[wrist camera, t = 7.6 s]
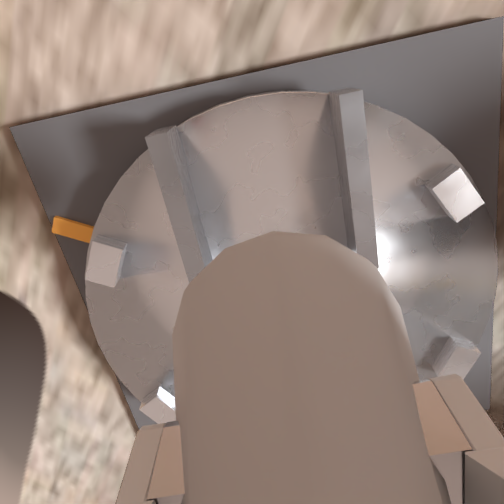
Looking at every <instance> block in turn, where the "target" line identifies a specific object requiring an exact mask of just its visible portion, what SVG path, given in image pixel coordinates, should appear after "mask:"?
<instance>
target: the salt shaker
mask: <svg viewBox="0 0 504 504" xmlns="http://www.w3.org/2000/svg"><path fill="white" fill-rule="evenodd" d="M172 342H173V366H174V390H175V414H176V421H178V422H179V424H180V433H181V447H182V461H183V475H184V489H185V494H184V497H183V500H182V503H181V504H451V500H450V496H449V492H448V489H447V485H446V481H445V480H444V478H443V477H442V475H441V474H440V472H439V471H438V469H437V468H436V466H435V465H434V463H433V462H432V460H431V459H430V457H429V454H428V450H427V446H426V443H425V439H424V434H423V430H422V425H421V421H420V417H419V412H418V407H417V403H416V398H415V394H414V389H413V385H412V384H413V383H414V381H419V377H418V373H417V369H416V365H415V361H414V357H413V353H412V349H411V346H410V342H409V338H408V334H407V330H406V326H405V322H404V319H403V315H402V311H401V307H400V305H399V304H398V302H397V300H396V299H395V297H394V295H393V294H392V292H391V290H390V289H389V287H388V285H387V284H386V282H385V280H384V279H383V277H382V275H381V274H380V272H379V270H378V269H377V267H376V266H375V265H374V264H372V263H371V262H370V261H369V260H368V259H366V258H365V257H363V256H361V255H359V254H358V253H356V252H354V251H352V250H351V249H349V248H347V247H345V246H344V245H342V244H340V243H338V242H337V241H335V240H333V239H332V238H330V237H328V236H326V235H316V234H304V233H291V232H279V231H272V232H269V233H266V234H263V235H261V236H258V237H255V238H252V239H250V240H247V241H244V242H241V243H238V244H236V245H233V246H230V247H227V248H225V249H224V250H223V251H222V252H221V253H220V254H218V255H217V256H216V257H215V258H214V259H213V260H212V261H211V262H210V263H209V264H208V265H207V266H206V267H205V268H204V269H203V270H202V271H201V272H200V273H199V274H198V275H197V276H196V277H195V278H194V279H193V280H192V281H191V282H190V283H189V284H188V286H187V287H186V289H185V290H184V292H183V296H182V300H181V304H180V307H179V311H178V315H177V319H176V322H175V326H174V330H173V333H172Z"/></svg>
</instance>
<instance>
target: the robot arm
mask: <svg viewBox="0 0 504 504" xmlns="http://www.w3.org/2000/svg"><path fill="white" fill-rule="evenodd" d="M412 385H413V389H414V394H415V398H416V403H417V407H418V412H419V417H420V421H421V425H422V430H423V434H424V439H425V443H426V446H427V450H428V454H429V457H430V459H431V460H432V462H433V463H434V465H435V466H436V468H437V469H438V471H439V472H440V474H441V475H442V477H443V478H444V480H445V481H446V485H447V489H448V492H449V496H450V500H451V504H504V437H503V436H502V434H501V433H500V431H499V430H498V428H497V427H496V426H495V424H494V423H493V421H492V420H491V419H490V417H489V416H488V414H487V413H486V411H485V410H484V409H483V407H482V406H481V404H480V403H479V402H478V400H477V399H476V397H475V396H474V395H473V393H472V392H471V390H470V389H469V387H468V386H467V385H466V383H465V382H464V380H463V379H462V378H461V377H460V376H459V375H457V374H451V375H446V376H440V377H435V378H429V379H428V380H427V379H425V380H419V381H414V383H413V384H412ZM184 494H185V489H184V475H183V461H182V447H181V433H180V424H179V422H178V421H171V422H167V423H161V424H153V425H146V426H142V427H141V428H140V429H139V431H138V432H137V434H136V438H135V441H134V444H133V447H132V451H131V454H130V457H129V460H128V464H127V467H126V470H125V474H124V477H123V480H122V483H121V487H120V490H119V493H118V497H117V500H116V503H115V504H181V503H182V500H183V497H184Z"/></svg>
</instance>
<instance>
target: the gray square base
mask: <svg viewBox="0 0 504 504" xmlns="http://www.w3.org/2000/svg"><path fill="white" fill-rule="evenodd" d="M503 23H504V16H503V17H498V18H492V19H488V20H484V21H479V22H475V23H470V24H466V25H461V26H457V27H452V28H448V29H443V30H439V31H435V32H430V33H426V34H421V35H417V36H412V37H408V38H403V39H399V40H395V41H390V42H386V43H381V44H377V45H372V46H368V47H363V48H359V49H355V50H350V51H346V52H341V53H337V54H332V55H328V56H323V57H319V58H315V59H310V60H306V61H301V62H297V63H292V64H288V65H283V66H279V67H275V68H270V69H266V70H261V71H257V72H252V73H248V74H243V75H239V76H235V77H230V78H226V79H221V80H217V81H212V82H208V83H203V84H199V85H195V86H190V87H186V88H181V89H177V90H172V91H168V92H163V93H159V94H155V95H150V96H146V97H141V98H137V99H132V100H128V101H123V102H119V103H114V104H110V105H106V106H101V107H97V108H92V109H88V110H83V111H79V112H74V113H70V114H66V115H61V116H57V117H52V118H48V119H43V120H39V121H34V122H30V123H26V124H21V125H17V126H13V127H9V128H10V130H11V133H12V135H13V137H14V140H15V142H16V144H17V147H18V149H19V151H20V154H21V156H22V158H23V161H24V163H25V165H26V168H27V170H28V172H29V175H30V177H31V179H32V182H33V184H34V186H35V189H36V191H37V193H38V196H39V198H40V200H41V203H42V205H43V207H44V210H45V212H46V214H47V217H48V219H49V221H50V224H51V226H52V233H55V235H56V238H57V240H58V242H59V245H60V247H61V249H62V251H63V254H64V256H65V258H66V261H67V263H68V265H69V268H70V270H71V272H72V275H73V277H74V279H75V282H76V284H77V286H78V289H79V291H80V293H81V296H82V298H83V300H84V303H85V305H86V307H87V302H86V291H85V270H86V260H87V251H88V247H89V244H90V240H91V236H92V233H93V229H94V226H95V223H96V221H97V219H98V217H99V214H100V212H101V210H102V208H103V205H104V203H105V201H106V200H107V198H108V196H109V195H110V193H111V192H112V190H113V189H114V187H115V185H116V184H117V182H118V181H119V179H120V178H121V177H122V176H123V174H124V173H125V172H126V171H127V170H128V169H129V168H130V166H131V165H132V164H133V163H134V162H135V161H136V159H137V158H138V157H139V156H140V155H142V154H143V153H144V152H145V151H146V150H147V149H148V146H147V143H146V140H145V137H146V136H147V135H149V134H150V133H152V132H153V131H155V130H156V129H160V128H164V127H169V126H173V125H176V126H178V125H179V124H181V123H183V122H184V121H186V120H187V119H189V118H190V117H192V116H194V115H196V114H198V113H200V112H203V111H205V110H207V109H209V108H211V107H214V106H216V105H218V104H220V103H224V102H227V101H230V100H234V99H237V98H241V97H244V96H247V95H252V94H259V93H266V92H272V91H282V90H311V91H318V92H326V93H329V91H334V90H338V89H343V88H348V87H352V88H356V89H361V90H363V99H364V101H365V102H368V103H371V104H374V105H378V106H380V107H382V108H384V109H387V110H389V111H391V112H393V113H395V114H398V115H400V116H402V117H404V118H406V119H408V120H410V121H411V122H413V123H414V124H416V125H417V126H419V127H420V128H422V129H423V130H425V131H426V132H428V133H430V134H431V135H432V136H433V137H435V138H436V139H437V140H438V141H439V142H440V143H441V144H442V145H443V146H445V147H446V148H447V149H448V150H449V151H450V152H451V153H452V154H453V155H454V156H455V157H456V158H457V160H458V161H459V162H460V163H461V165H462V166H463V167H464V168H465V170H466V171H467V172H468V173H469V174H470V176H471V178H472V179H473V181H474V183H475V185H476V186H477V188H478V190H479V192H480V193H481V195H482V197H483V199H484V201H485V204H486V207H487V209H488V212H489V215H490V217H491V220H492V223H493V228H494V233H495V238H496V222H497V194H498V165H499V137H500V108H501V80H502V51H503ZM493 308H494V303H493V307H492V311H491V314H490V318H489V321H488V323H487V325H486V328H485V330H484V332H483V335H482V337H481V340H480V341H479V343H478V345H477V346H476V347H477V348H478V350H479V351H480V352H481V354H480V356H479V357H478V359H477V360H476V362H475V363H474V365H473V366H472V368H471V369H470V371H469V372H468V374H467V375H466V376H465V378H464V379H463V380H464V382H465V383H466V385H467V386H468V387H469V389H470V390H471V392H472V393H473V395H474V396H475V397H476V399H477V400H478V402H479V403H480V404H481V406H482V407H483V409H484V410H488V409H490V393H491V365H492V336H493ZM87 310H88V308H87ZM115 375H116V374H115ZM116 377H117V375H116ZM117 379H118V382H119V384H120V386H121V389H122V391H123V393H124V396H125V398H126V400H127V403H128V405H129V407H130V410H131V412H132V414H133V417H134V419H135V421H136V424H137V426H138V428H139V429H140V428H141V427H142V426H146V425H153V424H158V423H156V422H155V421H154V420H152V419H151V418H150V417H148V416H147V415H146V414H144V413H143V412H142V411H140V410H139V409H140V406H141V403H142V402H140V401H139V400H138V399H137V398H136V397H135V396H134V395H133V394H132V393H131V392H130V391H129V390H128V389H127V387H126V386H125V385H124V384H123V383H122V382H121V381H120V379H119V378H118V377H117Z"/></svg>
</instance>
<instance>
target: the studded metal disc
mask: <svg viewBox="0 0 504 504" xmlns="http://www.w3.org/2000/svg"><path fill="white" fill-rule="evenodd" d="M145 140H146V143H147V146H148V149H147V150H146V151H145V152H144V153H143V154H142V155H140V156H139V157H138V158H137V159H136V161H135V162H134V163H133V164H132V165H131V166H130V168H129V169H128V170H127V171H126V172H125V173H124V174H123V176H122V177H121V178H120V179H119V181H118V182H117V184H116V185H115V187H114V189H113V190H112V192H111V193H110V195H109V196H108V198H107V200H106V201H105V203H104V205H103V208H102V210H101V212H100V214H99V217H98V219H97V221H96V223H95V226H94V229H93V233H92V236H91V240H90V244H89V247H88V251H87V260H86V270H85V291H86V302H87V308H88V313H89V318H90V323H91V325H92V328H93V331H94V334H95V337H96V340H97V342H98V345H99V347H100V349H101V350H102V352H103V354H104V356H105V358H106V360H107V362H108V364H109V365H110V367H111V368H112V369H113V371H114V372H115V374H116V375H117V377H118V378H119V379H120V381H121V382H122V383H123V384H124V385H125V386H126V387H127V389H128V390H129V391H130V392H131V393H132V394H133V395H134V396H135V397H136V398H137V399H138V400H139V401H140V402H142V403H141V406H140V409H139V410H140V411H142V412H143V413H144V414H146V415H147V416H148V417H150V418H151V419H152V420H154V421H155V422H156V423H158V424H161V423H167V422H171V421H176V414H175V390H174V366H173V342H172V333H173V330H174V326H175V322H176V319H177V315H178V311H179V307H180V304H181V300H182V296H183V292H184V290H185V289H186V287H187V286H188V284H189V283H190V282H191V281H192V280H193V279H194V278H195V277H196V276H197V275H198V274H199V273H200V272H201V271H202V270H203V269H204V268H205V267H206V266H207V265H208V264H209V263H210V262H211V261H212V260H213V259H214V258H215V257H216V256H217V255H218V254H220V253H221V252H222V251H223V250H224V249H225V248H227V247H230V246H233V245H236V244H238V243H241V242H244V241H247V240H250V239H252V238H255V237H258V236H261V235H263V234H266V233H269V232H272V231H279V232H291V233H304V234H316V235H326V236H328V237H330V238H332V239H333V240H335V241H337V242H338V243H340V244H342V245H344V246H345V247H347V248H349V249H351V250H352V251H354V252H356V253H358V254H359V255H361V256H363V257H365V258H366V259H368V260H369V261H370V262H371V263H372V264H374V265H375V266H376V267H377V269H378V270H379V272H380V274H381V275H382V277H383V279H384V280H385V282H386V284H387V285H388V287H389V289H390V290H391V292H392V294H393V295H394V297H395V299H396V300H397V302H398V304H399V305H400V307H401V311H402V315H403V319H404V322H405V326H406V330H407V334H408V338H409V342H410V346H411V349H412V353H413V357H414V361H415V365H416V369H417V373H418V377H419V380H425V379H427V380H428V379H429V378H435V377H440V376H446V375H451V374H457V375H459V376H460V377H461V378H462V379H464V378H465V376H466V375H467V374H468V372H469V371H470V369H471V368H472V366H473V365H474V363H475V362H476V360H477V359H478V357H479V356H480V354H481V352H480V351H479V350H478V348H477V347H476V346H477V345H478V343H479V341H480V340H481V337H482V335H483V332H484V330H485V328H486V325H487V323H488V321H489V318H490V314H491V311H492V307H493V303H494V299H495V296H496V287H497V278H498V251H497V243H496V238H495V233H494V228H493V223H492V220H491V217H490V215H489V212H488V209H487V207H486V204H485V201H484V199H483V197H482V195H481V193H480V192H479V190H478V188H477V186H476V185H475V183H474V181H473V179H472V178H471V176H470V174H469V173H468V172H467V171H466V170H465V168H464V167H463V166H462V165H461V163H460V162H459V161H458V160H457V158H456V157H455V156H454V155H453V154H452V153H451V152H450V151H449V150H448V149H447V148H446V147H445V146H443V145H442V144H441V143H440V142H439V141H438V140H437V139H436V138H435V137H433V136H432V135H431V134H430V133H428V132H426V131H425V130H423V129H422V128H420V127H419V126H417V125H416V124H414V123H413V122H411V121H410V120H408V119H406V118H404V117H402V116H400V115H398V114H395V113H393V112H391V111H389V110H387V109H384V108H382V107H380V106H378V105H374V104H371V103H368V102H365V101H364V99H363V90H361V89H356V88H352V87H348V88H343V89H338V90H334V91H329V93H326V92H318V91H311V90H282V91H272V92H266V93H259V94H252V95H247V96H244V97H241V98H237V99H234V100H230V101H227V102H224V103H220V104H218V105H216V106H214V107H211V108H209V109H207V110H205V111H203V112H200V113H198V114H196V115H194V116H192V117H190V118H189V119H187V120H186V121H184V122H183V123H181V124H179V125H178V126H176V125H173V126H169V127H164V128H160V129H156V130H155V131H153V132H152V133H150V134H149V135H147V136H146V137H145Z"/></svg>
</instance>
